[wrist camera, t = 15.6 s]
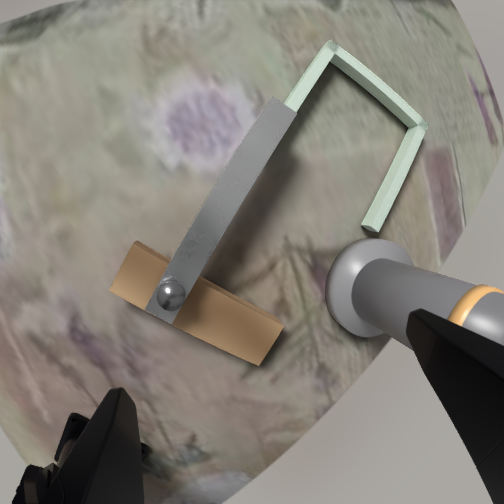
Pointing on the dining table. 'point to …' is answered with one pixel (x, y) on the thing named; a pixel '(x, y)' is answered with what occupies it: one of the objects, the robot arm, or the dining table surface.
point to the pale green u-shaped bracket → (389, 100)
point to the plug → (404, 294)
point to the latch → (219, 210)
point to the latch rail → (201, 307)
